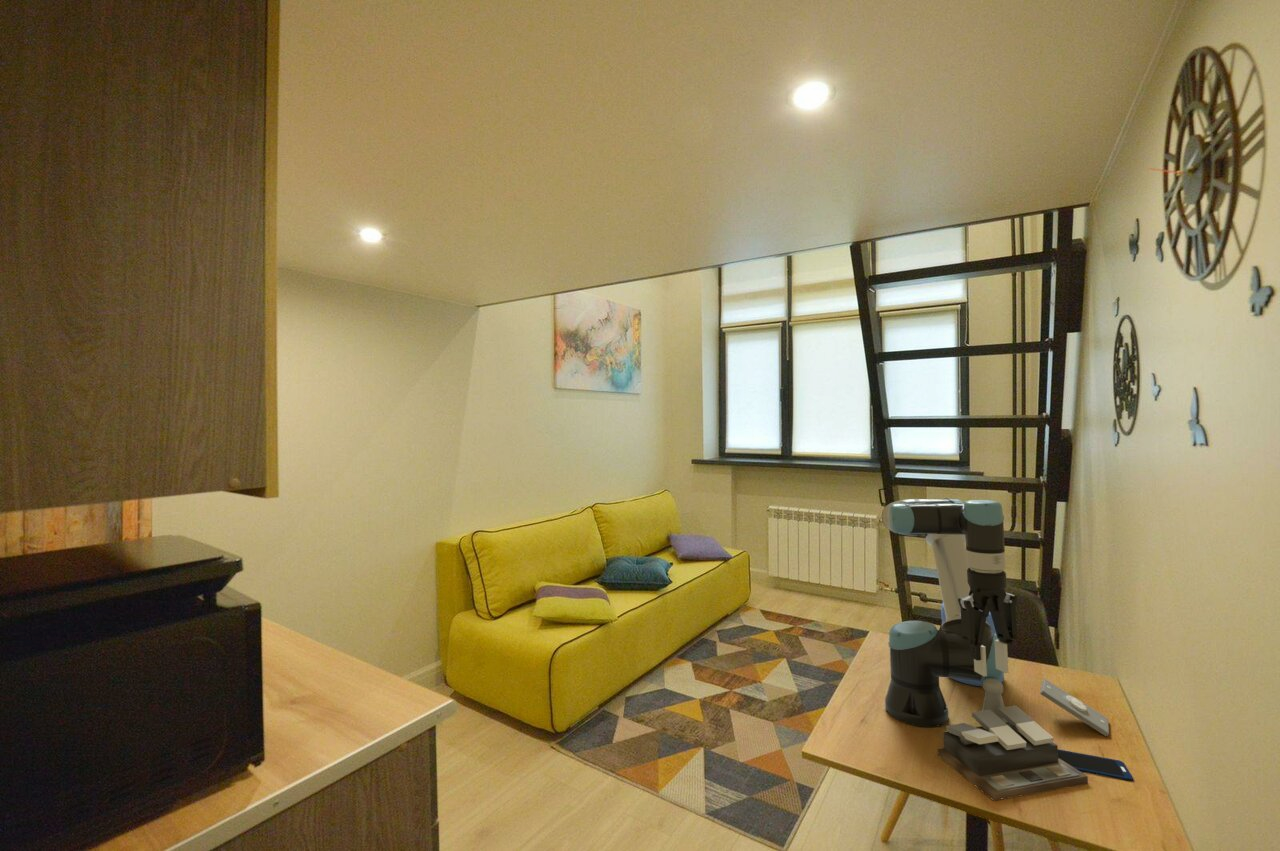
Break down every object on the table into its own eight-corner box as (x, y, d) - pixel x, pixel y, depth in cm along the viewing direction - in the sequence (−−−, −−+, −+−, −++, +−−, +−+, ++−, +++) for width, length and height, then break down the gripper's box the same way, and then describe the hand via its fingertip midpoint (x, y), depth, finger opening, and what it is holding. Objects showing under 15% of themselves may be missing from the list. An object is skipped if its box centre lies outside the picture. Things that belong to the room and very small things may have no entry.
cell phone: (1135, 783, 115) (1135, 780, 115) (1054, 767, 121) (1053, 764, 121) (1123, 764, 121) (1123, 760, 121) (1046, 750, 127) (1046, 746, 127)
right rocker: (996, 717, 129) (998, 708, 129) (1013, 714, 130) (1015, 705, 130) (1033, 750, 120) (1035, 740, 119) (1051, 747, 121) (1053, 737, 120)
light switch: (1111, 731, 130) (1044, 688, 138) (1097, 748, 132) (1031, 705, 140) (1110, 715, 137) (1046, 675, 145) (1097, 733, 139) (1034, 692, 147)
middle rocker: (970, 721, 128) (972, 712, 127) (988, 718, 129) (990, 709, 128) (1005, 755, 118) (1007, 745, 118) (1024, 752, 119) (1026, 742, 119)
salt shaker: (998, 740, 132) (996, 692, 130) (975, 726, 138) (973, 679, 136) (1014, 730, 135) (1012, 683, 133) (991, 717, 140) (989, 671, 138)
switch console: (937, 755, 127) (936, 732, 127) (1022, 741, 131) (1021, 719, 131) (993, 800, 111) (992, 774, 111) (1087, 783, 115) (1086, 758, 115)
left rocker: (948, 738, 126) (945, 725, 126) (966, 735, 127) (963, 722, 127) (980, 751, 116) (978, 738, 117) (1000, 748, 117) (997, 735, 118)
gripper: (964, 576, 118) (969, 684, 117) (1034, 569, 121) (1040, 674, 121) (939, 568, 125) (944, 669, 125) (1006, 562, 128) (1011, 660, 128)
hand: (991, 671), depth 123 cm, fingers open, 5 cm apart
